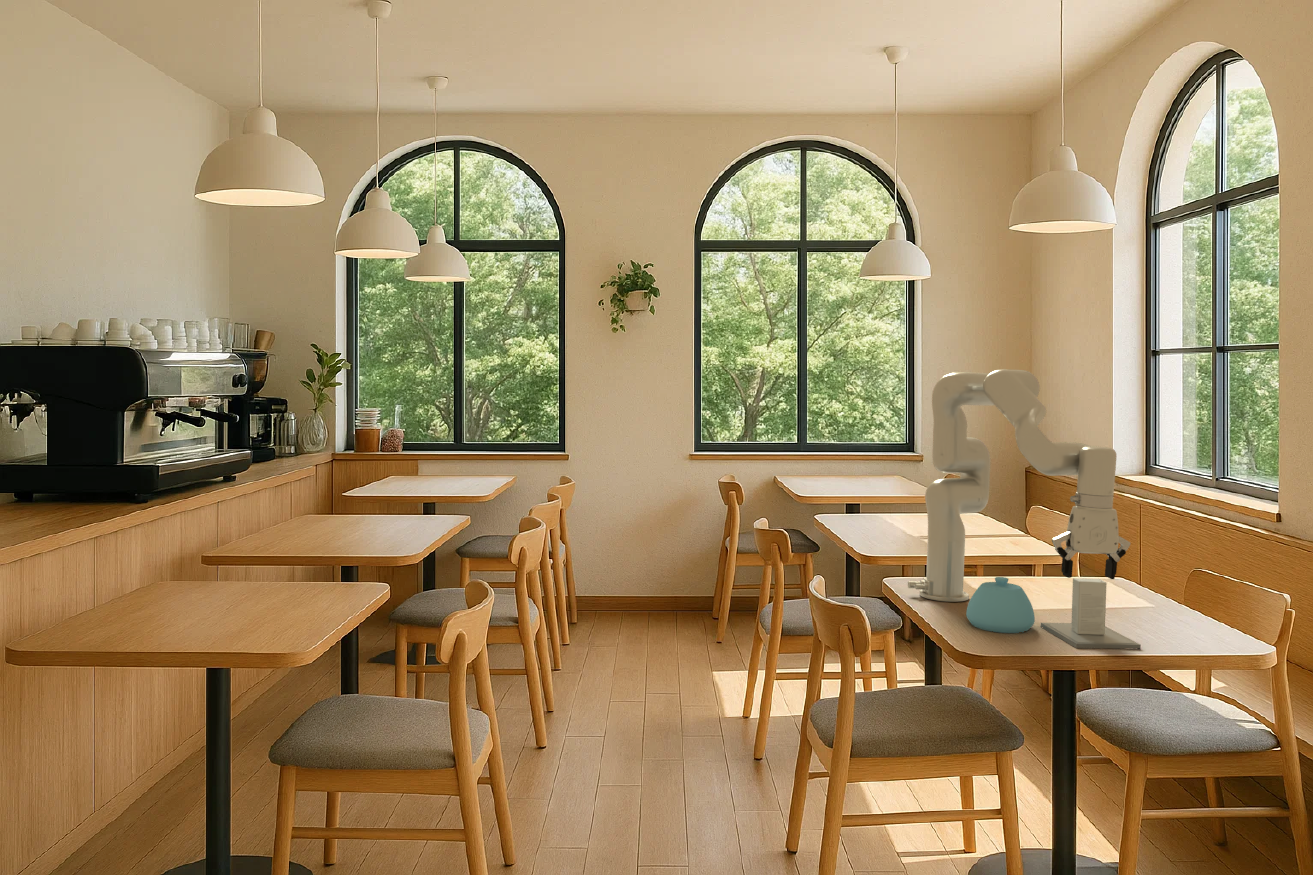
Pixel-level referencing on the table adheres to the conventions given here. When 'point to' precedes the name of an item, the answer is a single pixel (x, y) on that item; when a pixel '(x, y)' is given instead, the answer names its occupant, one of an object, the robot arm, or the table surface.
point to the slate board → (1089, 637)
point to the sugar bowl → (1000, 607)
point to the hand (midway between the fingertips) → (1088, 577)
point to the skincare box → (1088, 606)
